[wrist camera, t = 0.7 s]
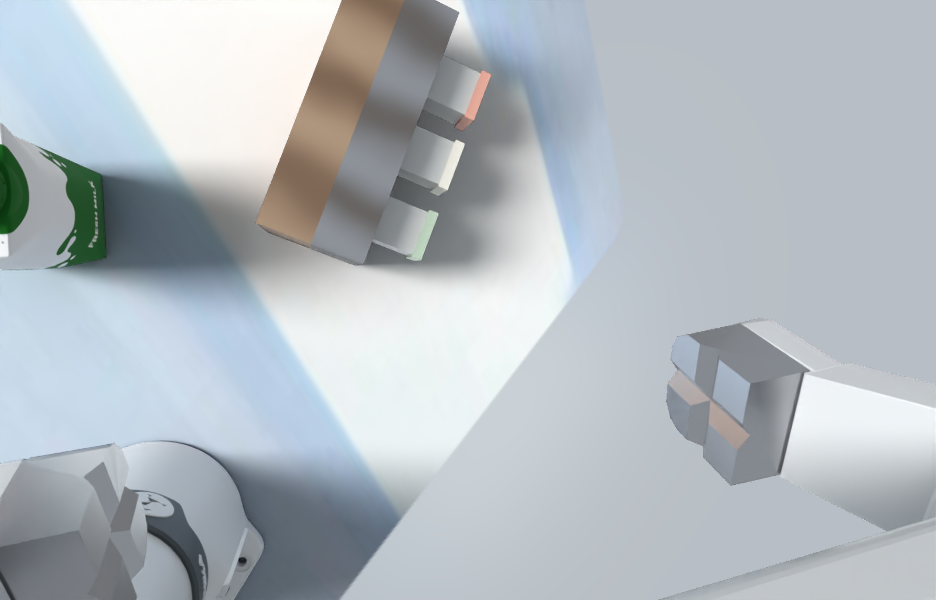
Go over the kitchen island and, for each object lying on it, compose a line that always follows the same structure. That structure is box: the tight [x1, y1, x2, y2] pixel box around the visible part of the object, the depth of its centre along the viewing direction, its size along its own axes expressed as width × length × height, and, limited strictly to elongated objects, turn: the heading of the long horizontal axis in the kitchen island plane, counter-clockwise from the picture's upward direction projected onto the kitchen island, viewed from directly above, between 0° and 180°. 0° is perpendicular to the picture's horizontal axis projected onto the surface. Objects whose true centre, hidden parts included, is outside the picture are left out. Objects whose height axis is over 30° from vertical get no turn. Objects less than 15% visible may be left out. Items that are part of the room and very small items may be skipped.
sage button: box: [372, 196, 439, 261], centre depth 51 cm, size 4×5×4 cm
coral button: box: [422, 55, 491, 131], centre depth 52 cm, size 4×5×4 cm
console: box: [255, 0, 459, 265], centre depth 51 cm, size 20×8×12 cm, turn 158°
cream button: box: [397, 125, 465, 196], centre depth 51 cm, size 4×5×4 cm
